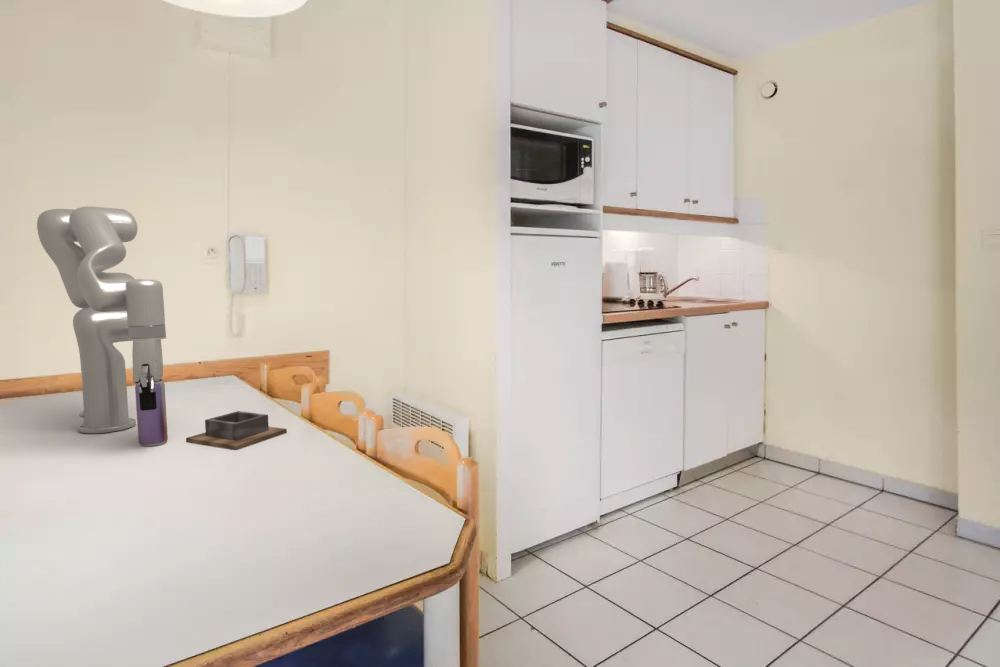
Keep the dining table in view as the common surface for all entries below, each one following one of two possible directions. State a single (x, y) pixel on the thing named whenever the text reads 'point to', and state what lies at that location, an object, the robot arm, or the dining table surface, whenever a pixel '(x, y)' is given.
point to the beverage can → (152, 418)
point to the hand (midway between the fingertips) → (152, 405)
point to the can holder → (236, 430)
